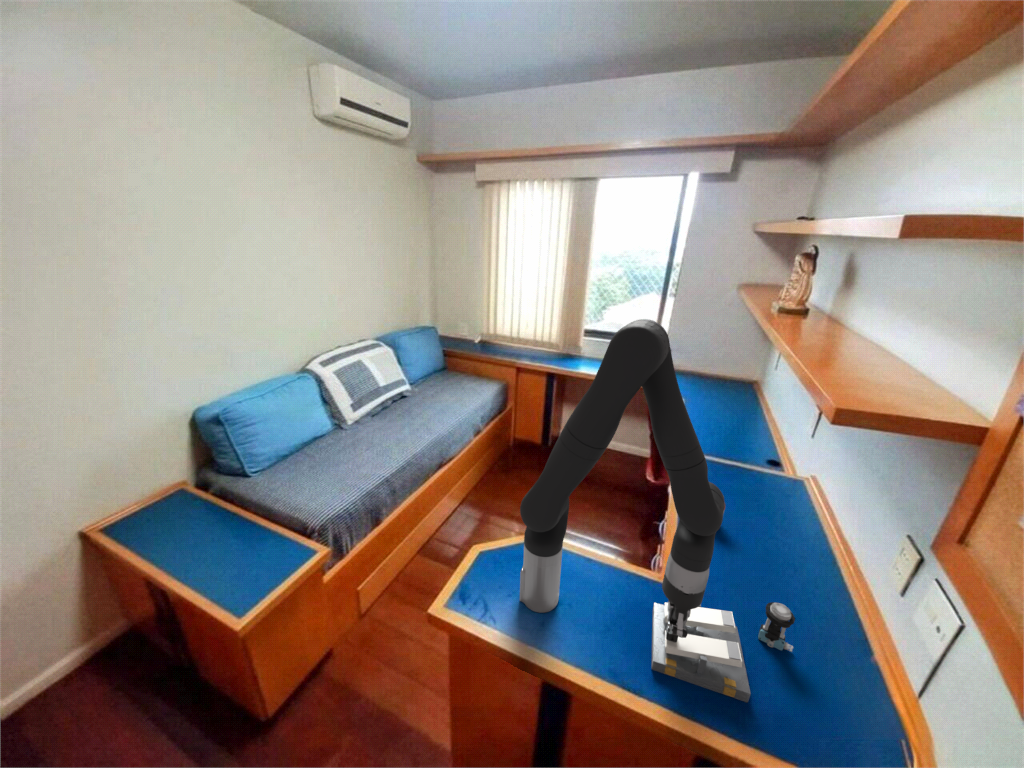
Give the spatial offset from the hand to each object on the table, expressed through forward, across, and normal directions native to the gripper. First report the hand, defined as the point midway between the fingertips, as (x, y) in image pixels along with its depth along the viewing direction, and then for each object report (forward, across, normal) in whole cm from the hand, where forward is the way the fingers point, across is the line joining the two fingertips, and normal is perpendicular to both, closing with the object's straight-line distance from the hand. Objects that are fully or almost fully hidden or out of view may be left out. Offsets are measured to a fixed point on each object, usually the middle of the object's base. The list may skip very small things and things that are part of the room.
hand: (671, 638), depth 82 cm
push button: (+6, -12, +23) cm, 27 cm away
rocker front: (0, 0, +6) cm, 6 cm away
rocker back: (0, -8, +6) cm, 10 cm away
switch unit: (+6, -4, +6) cm, 9 cm away
